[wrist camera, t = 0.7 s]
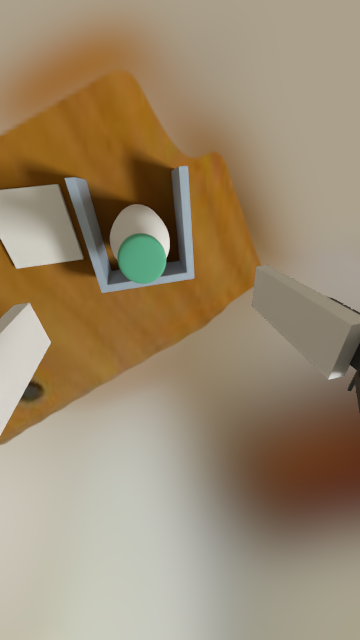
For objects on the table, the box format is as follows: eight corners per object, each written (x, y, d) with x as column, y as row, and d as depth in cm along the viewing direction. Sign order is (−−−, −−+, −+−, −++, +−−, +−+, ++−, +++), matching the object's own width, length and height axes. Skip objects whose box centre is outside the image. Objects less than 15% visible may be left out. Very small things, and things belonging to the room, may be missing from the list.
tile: (18, 267, 36) (16, 268, 35) (-21, 192, 30) (-25, 192, 29) (84, 257, 37) (83, 259, 36) (58, 184, 31) (57, 184, 30)
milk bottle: (109, 209, 34) (83, 228, 17) (155, 198, 34) (174, 206, 17) (125, 256, 38) (116, 307, 21) (165, 246, 38) (189, 288, 22)
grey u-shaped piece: (106, 277, 39) (101, 293, 33) (77, 180, 31) (64, 178, 25) (186, 265, 41) (194, 278, 35) (178, 170, 33) (187, 165, 27)
